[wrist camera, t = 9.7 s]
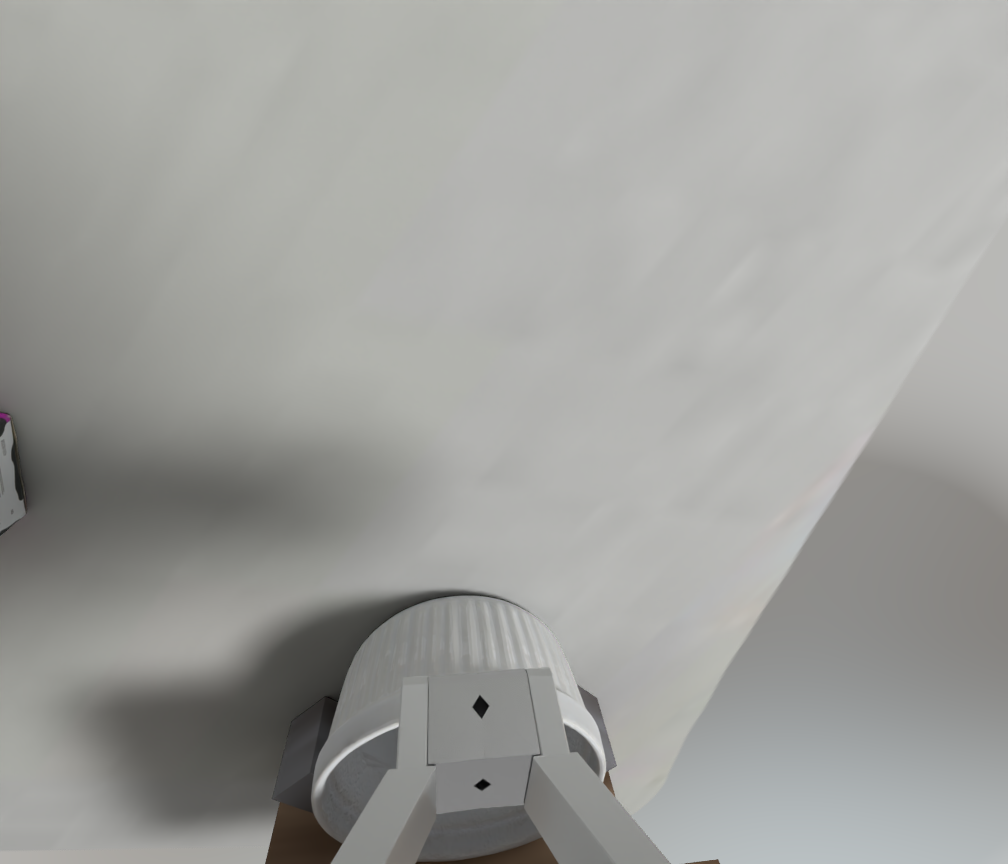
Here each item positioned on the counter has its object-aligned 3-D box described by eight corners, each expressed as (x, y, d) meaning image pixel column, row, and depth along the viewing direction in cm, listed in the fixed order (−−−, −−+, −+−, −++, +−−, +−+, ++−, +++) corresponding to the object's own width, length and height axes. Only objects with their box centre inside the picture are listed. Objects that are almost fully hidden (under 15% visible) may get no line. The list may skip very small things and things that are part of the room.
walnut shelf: (265, 638, 25) (138, 998, 15) (621, 618, 28) (739, 913, 17) (301, 784, 32) (233, 1104, 21) (586, 757, 35) (654, 1031, 24)
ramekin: (579, 704, 32) (613, 833, 26) (375, 746, 31) (360, 888, 25) (561, 551, 25) (601, 677, 19) (301, 602, 25) (258, 747, 19)
